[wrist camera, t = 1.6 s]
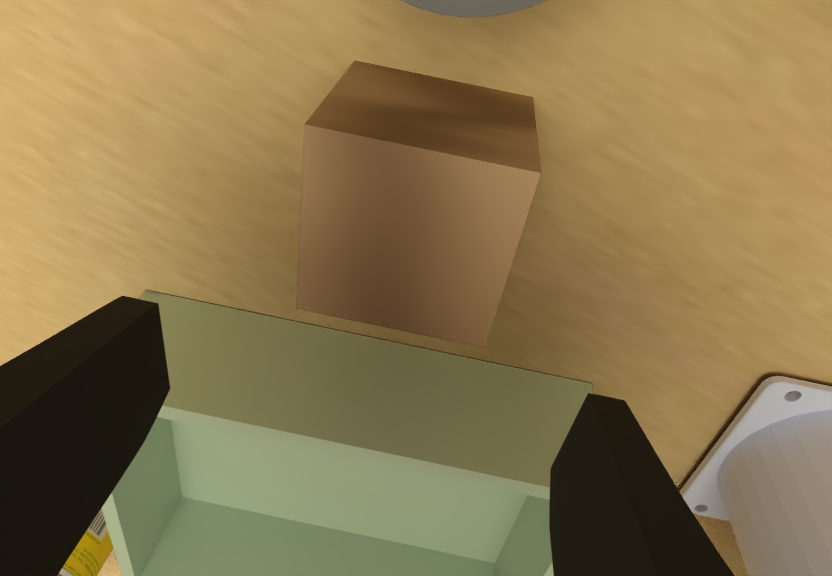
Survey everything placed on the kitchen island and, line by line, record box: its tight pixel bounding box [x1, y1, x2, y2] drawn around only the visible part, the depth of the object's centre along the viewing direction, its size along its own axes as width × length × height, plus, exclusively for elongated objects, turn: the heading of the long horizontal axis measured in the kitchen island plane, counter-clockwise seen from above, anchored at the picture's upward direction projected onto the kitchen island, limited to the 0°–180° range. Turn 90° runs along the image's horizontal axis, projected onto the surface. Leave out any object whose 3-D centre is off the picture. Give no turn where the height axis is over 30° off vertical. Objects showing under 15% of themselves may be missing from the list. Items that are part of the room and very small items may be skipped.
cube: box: [296, 61, 541, 348], centre depth 15 cm, size 5×5×5 cm
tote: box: [102, 290, 593, 576], centre depth 24 cm, size 17×13×5 cm
